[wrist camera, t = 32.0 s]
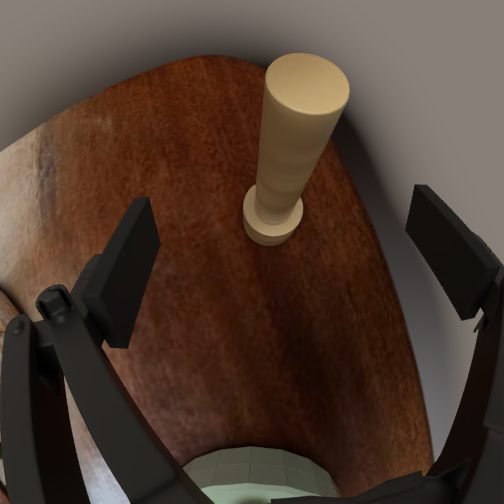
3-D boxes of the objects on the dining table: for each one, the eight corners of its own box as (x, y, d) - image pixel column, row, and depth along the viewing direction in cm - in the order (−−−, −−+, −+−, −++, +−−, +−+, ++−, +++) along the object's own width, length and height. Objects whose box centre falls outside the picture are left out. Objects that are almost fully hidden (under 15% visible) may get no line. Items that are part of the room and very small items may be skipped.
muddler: (305, 225, 26) (396, 101, 9) (264, 256, 26) (303, 162, 8) (273, 187, 27) (310, 26, 9) (233, 215, 27) (213, 69, 9)
